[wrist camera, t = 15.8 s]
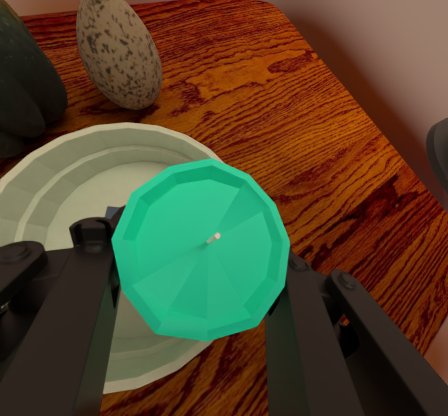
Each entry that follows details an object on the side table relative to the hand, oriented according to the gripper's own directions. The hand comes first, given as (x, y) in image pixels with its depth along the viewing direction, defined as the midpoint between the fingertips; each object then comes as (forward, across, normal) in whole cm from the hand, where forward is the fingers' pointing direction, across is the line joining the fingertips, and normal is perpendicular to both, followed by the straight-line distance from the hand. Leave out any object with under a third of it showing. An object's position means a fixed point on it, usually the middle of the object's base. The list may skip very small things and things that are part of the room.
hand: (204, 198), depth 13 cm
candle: (0, 0, -5) cm, 5 cm away
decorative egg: (+15, -10, +5) cm, 18 cm away
